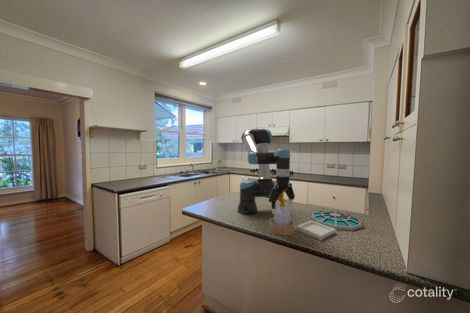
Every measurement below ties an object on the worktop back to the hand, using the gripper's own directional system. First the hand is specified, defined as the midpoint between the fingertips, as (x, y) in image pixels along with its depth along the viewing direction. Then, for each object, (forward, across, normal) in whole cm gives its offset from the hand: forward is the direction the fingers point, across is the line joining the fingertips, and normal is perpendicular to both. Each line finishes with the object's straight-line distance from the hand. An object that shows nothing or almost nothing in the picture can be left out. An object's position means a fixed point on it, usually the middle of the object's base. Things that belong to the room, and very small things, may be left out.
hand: (282, 211), depth 112 cm
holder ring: (+11, 0, 0) cm, 11 cm away
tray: (+11, +14, -13) cm, 22 cm away
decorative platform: (+11, +40, -11) cm, 43 cm away
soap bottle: (+11, 0, 0) cm, 11 cm away
